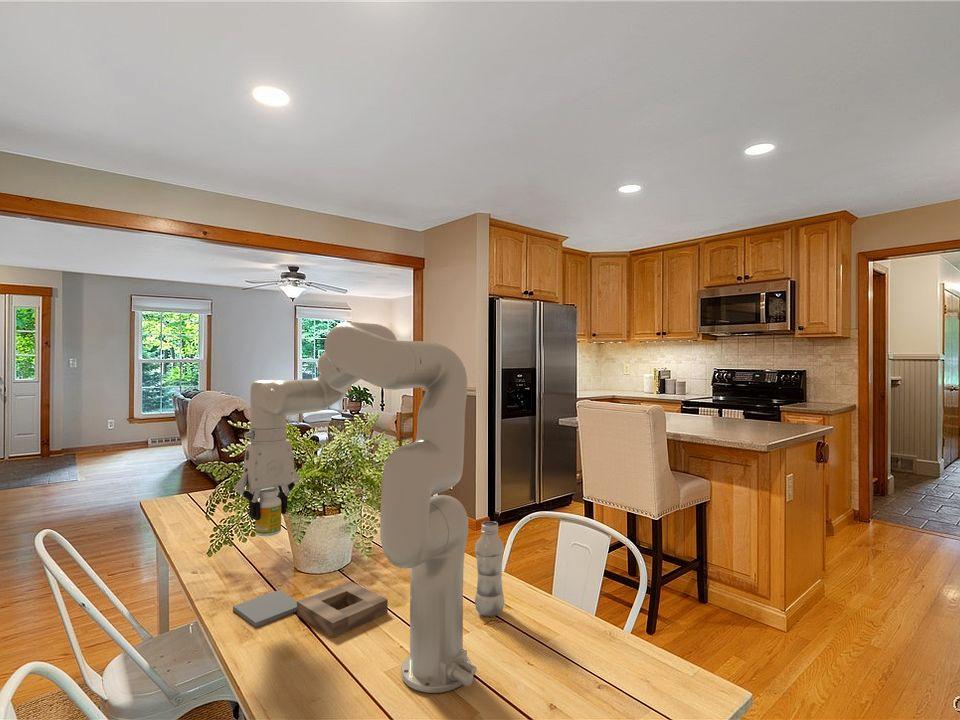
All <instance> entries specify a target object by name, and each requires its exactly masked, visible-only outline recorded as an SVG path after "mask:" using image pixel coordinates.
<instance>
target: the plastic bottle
mask: <svg viewBox="0 0 960 720" xmlns="http://www.w3.org/2000/svg"><path fill="white" fill-rule="evenodd" d="M480 533H481V535H480V536H479V538H478V539H477V541H476V542H475V545H474V546H475V547H474V552H475V557H476V558H475V559H476V560H475V561H476V568H477V582H476V583H477V584H476V592H475V597H474V598H475V599H474V605H475V610H476V611H477V613H478V614H479V615H481V616H482V617H490V618H491V617H497V616H499V615H500V614H501V613H502V612H503V611H504V608H505V596H504V591H503V581H502V575H503V573H502V572H503V559H504V552H505V546H504V542H503V541H502V539H501V537H500V536H499V535H498V533H499V523H498V522H497V521H494V520H493V521H492V520H491V521H490V520H487V521H483V522H481V529H480Z"/></svg>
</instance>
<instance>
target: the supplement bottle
mask: <svg viewBox="0 0 960 720" xmlns="http://www.w3.org/2000/svg"><path fill="white" fill-rule="evenodd" d="M278 494H279V491H278V488H277V487H271V488H266V489H261V491H260V494H259V497H258V502H260V519H259V520H257V521H256V520H254V521H255V522H254V523H255V524H254V525H255V526H254V529H255V531H254V532H255V533H254V534H255V535H256V536H258V537H271V536H276V535H278V534H279V533H281V531H282V513H281V499H280V498H278V497H277V496H278Z"/></svg>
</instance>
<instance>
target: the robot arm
mask: <svg viewBox="0 0 960 720" xmlns="http://www.w3.org/2000/svg"><path fill="white" fill-rule="evenodd" d="M317 369H318V373H319V376H317V377H315V378H309V379H308V378H305V379H287V380H286V379H285V380H279V379H259V380H255V381H253V382H252V383H251V385H250V390H249V391H250V393H249V394H250V403H249V404H250V406H249V408H250V414H249V415H250V420H249V421H250V427H249V431H247V432H244V435H243V437H244V438H245V439H248V440H249V442H247V443H246V448H245V454H244V460H243V471H242V472H243V473H242V474H243V475H242V476H241V478H240V479H238V481H237V482H236V484H235V485H234V486H233V490H234V491H235V492H237V493H238V494H240V495H241V496H242V497H243V498H245V499H246V500H247V501H248V516H249V517H250V518H251V519H252V520H254V521H255V520H256V521H257V520H259V519H260V502H258V499H259V498H260V497H259V494H260V491H261V489H266V488H277V489H278V496H277V497H278V498H280V499H281V515H286V514H287V509H288V496H290V494H291V491H292V490H293V488H294V487H295V485H296V484H297V483H298V482H299V481H300V480H301V475H300V474H299V473H298V472H297V471H296V470H295V459H294V454H293V453H294V452H293V446H292V442H291V439H288V438H287V416H292V415H295V416H296V415H300V414H301V415H302V414H309V413H317V412H320V411H323V410H325V409H327V408H329V407H330V406H332V405H334V404H336V403H338V402H339V401H341V400H342V399H343V398H345V396H346V395H347V394H348V392H349V390H350V387H351V386H352V385H354V384H355V383H357V382H358V381H360V380H362V381H364V382H366V383H369V384H371V385H373V386H375V387H378V388H381V389H385V390H394V391H395V390H397V391H398V390H405V389H406V390H407V389H417V388H423V389H424V390H425V393H424V395H423V398H422V399H421V402H420V405H419V408H418V412H417V416H416V417H417V418H416V419H417V427H416V429H417V430H416V439H415V440H414V442H410V443H407V444H403V445H401V446H399V447H397V448H395V449H394V450H393V451H392V452H391V453H390V454H389V456H388V457H387V459H386V461H385V463H384V466H383V469H382V472H381V473H382V475H381V485H380V488H381V489H380V515H379V518H380V519H379V520H380V521H379V539H380V545H381V548H382V551H383V553H384V556H385V557H386V559H387V560H388V562H389V563H390V564H391V565H394V566H395V567H396V568H399V569H410V583H409V584H410V586H409V589H410V591H409V603H410V604H409V607H410V608H409V655H408V656H406V658H405V659H404V661H402V664H401V669H400V670H401V679H402V680H403V682H404V683H405V684H406V685H407V686H408V687H410V688H411V689H413V690H415V691H418V692H420V693H421V692H422V693H429V694H439V693H445V692H450V691H452V690H455V689H457V688H460V687H461V686H465V687H470V686H471V685H472V683H473V681H474V675H476V673H477V667H476V666H475V665H473V664H472V663H471V659H470V658H469V656H468V651H467V650H466V649H465V648H464V644H463V643H464V640H463V639H464V637H463V636H464V625H463V624H464V568H465V567H464V566H465V565H464V563H465V555H466V553H465V552H466V548H467V541H468V537H469V536H468V534H469V517H468V513H467V511H466V509H465V507H464V505H463V504H462V502H461V501H459V499H457V498H455V497H454V496H451V495H446V494H440V493H442V492H445V491H447V490H449V489H451V488H453V487H455V486H456V485H457V484H458V483H459V482H460V481H461V479H462V476H463V471H464V459H465V458H464V457H465V455H464V454H465V448H464V447H465V431H466V430H465V428H466V427H465V424H466V423H465V421H466V420H465V419H466V405H467V396H468V376H467V371H466V368H465V365H464V363H463V362H462V360H461V358H460V357H459V355H458V354H457V353H456V352H455V351H453V350H452V349H451V348H449V347H448V346H446V345H444V344H441V343H437V342H433V341H425V340H424V341H423V340H422V341H420V340H397V336H396V335H395V333H394V332H393V331H392V330H390V328H388V327H386V326H384V325H382V324H378V323H369V322H368V323H367V322H357V321H354V322H353V321H346V322H341V323H338V324H337V325H335V326H334V327H332V328H331V329H330V331H329V332H328V333H327V335H326V337H325V340H324V352H322V354H320V356H319V358H318V360H317ZM245 487H248V488H249V489H248V490H247V489H246V488H245ZM437 494H439V495H437Z"/></svg>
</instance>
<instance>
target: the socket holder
mask: <svg viewBox="0 0 960 720" xmlns="http://www.w3.org/2000/svg"><path fill="white" fill-rule="evenodd" d="M388 603H389V602H388V598H385V597H384V596H382V595H380V594H378V593H376V592H373V590H372V591H371V590H370V589H368V588H365V587H363V586H361V585H359V584H357V583H355V582H353V581H347V582H345V583H342V584H339V585H338V586H335V587H331V588H329V589H326V590H324V591H321V592H318V593H316V594H313V595H310V596H307V597H305V598H302V599H300V600H297V612H296V616H297V617H299V618H301V619H302V618H303V619H302V620H304V621H305V622H307V623H309V624H310V625H312V626H313V627H315V628H317V629H318V630H320V631H322V632H323V633H325V635H328V636H329V637H331V639H332V638H335V637H338V636H340V635H343V634H344V633H346V632H349V631H351V630H354V629H355V628H358V627H361V625H364V624H366V623H368V622H371V621H372V620H374V619H377V618H379V617H382V616H384V615H386V614H388V613H389V611H388V607H389V606H388V605H389V604H388ZM345 605H347V606H345ZM343 606H345V607H344V608H341V609H339V610H338V608H340V607H343Z"/></svg>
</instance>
